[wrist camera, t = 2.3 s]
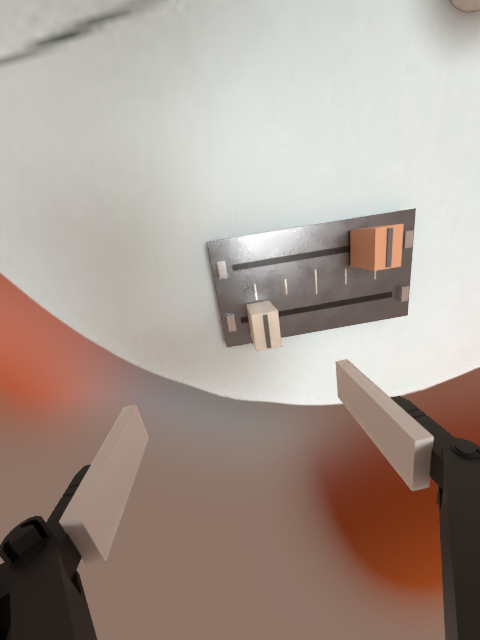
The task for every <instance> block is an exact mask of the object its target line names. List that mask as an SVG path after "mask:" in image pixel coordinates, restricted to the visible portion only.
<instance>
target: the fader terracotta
mask: <svg viewBox="0 0 480 640" xmlns="http://www.w3.org/2000/svg"><path fill="white" fill-rule="evenodd" d="M403 226H404V224H395V225H384V226H374V227H368V228H361V229H355V230H350V266H351V267H356V268H361V269H367V270H372V271H377V270H383V269H389V268H395V267H401V257H402V241H403Z"/></svg>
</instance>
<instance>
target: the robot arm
mask: <svg viewBox="0 0 480 640" xmlns="http://www.w3.org/2000/svg"><path fill="white" fill-rule="evenodd" d="M336 374H337V389H338V397H339V399H340V400H341V401H342V403H343V404H344V405H345V406H346V408H347V409H348V410H349V411H350V413H351V414H352V415H353V416H354V418H355V419H356V420H357V422H358V423H359V424H360V425H361V427H362V428H363V429H364V430H365V432H366V433H367V434H368V436H369V437H370V438H371V439H372V441H373V442H374V443H375V444H376V446H377V447H378V448H379V449H380V451H381V452H382V453H383V455H384V456H385V457H386V458H387V460H388V461H389V462H390V463H391V465H392V466H393V467H394V469H395V470H396V471H397V472H398V474H399V475H400V476H401V477H402V479H403V480H404V481H405V483H406V484H407V485H408V486H409V488H410V489H411V490H412V491H414V490H419V489H423V488H427V487H429V485H430V477H431V478H432V479H433V480H434V481H435V482H436V483H437V484H438V494H437V504H439V522H440V542H441V560H442V582H443V601H444V621H445V640H480V447H479V446H478V445H476V444H474V443H472V442H470V441H468V440H464V439H461V438H454V437H453V436H452V435H451V434H449V433H448V432H447V431H446V430H444V429H443V428H442V427H441V426H440V425H438V424H437V423H436V422H435V421H434V420H432V419H431V418H430V417H428V416H426V414H425V413H424V412H423V411H421V410H419V408H418V407H416V406H415V405H414V404H413V403H411V402H410V401H408V400H406V399H404V398H402V397H400V396H397V397H392V398H390V397H389V396H388V395H387V394H385V393H384V392H383V391H382V390H381V389H380V388H379V387H378V386H376V385H375V384H374V383H373V382H372V381H371V380H370V379H369V378H368V377H366V376H365V375H364V374H363V373H362V372H361V371H360V370H359V369H357V368H356V367H355V366H354V365H353V364H352V363H351V362H350V361H348V360H347V359H346V360H341V361H336ZM148 439H149V437H148V435H147V432H146V430H145V427H144V424H143V422H142V419H141V417H140V414H139V411H138V409H137V407H136V405H131V406H126V407H124V408H123V409H122V411H121V413H120V415H119V417H118V418H117V420H116V422H115V423H114V425H113V427H112V429H111V430H110V432H109V434H108V436H107V437H106V439H105V441H104V443H103V445H102V446H101V448H100V450H99V452H98V453H97V455H96V457H95V459H94V460H93V462H92V464H91V465H86V466H84V467H83V468H82V469H81V470H80V471H79V472H78V473H77V474H76V475H75V476H74V478H73V480H72V482H71V483H70V484H69V486H68V489H66V491H65V493H64V494H63V497H62V498H61V500H60V501H59V503H58V504H57V506H56V507H55V509H54V511H53V512H52V514H51V516H50V517H49V519H48V521H47V522H46V523H45V521H44V520H43V518H42V517H41V516H34V517H31V518H28V519H27V520H25V521H23V522H22V523H20V524H19V525H18V526H16V527H15V528H14V529H13V530H12V531H11V532H10V533H9V534H8V535H7V536H6V537H5V538H4V540H3V542H2V543H1V545H0V557H1V558H2V559H3V561H4V563H2V564H0V640H97V637H96V633H95V630H94V626H93V622H92V619H91V615H90V612H89V608H88V604H87V601H86V597H85V594H84V590H83V586H82V583H81V579H80V575H79V574H78V572H77V570H76V569H77V567H78V564H79V562H80V560H81V558H82V559H83V561H84V563H85V564H86V566H92V565H96V564H100V563H105V562H106V559H107V557H108V554H109V551H110V548H111V545H112V543H113V540H114V537H115V534H116V531H117V528H118V525H119V522H120V520H121V516H122V514H123V511H124V508H125V505H126V502H127V499H128V496H129V494H130V491H131V488H132V485H133V482H134V479H135V477H136V474H137V471H138V468H139V465H140V462H141V459H142V456H143V454H144V451H145V448H146V445H147V442H148Z"/></svg>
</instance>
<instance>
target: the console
mask: <svg viewBox="0 0 480 640" xmlns="http://www.w3.org/2000/svg"><path fill="white" fill-rule="evenodd" d="M415 211H416V208H415V209H409V210H403V211H397V212H391V213H384V214H378V215H372V216H366V217H359V218H353V219H347V220H341V221H334V222H328V223H322V224H316V225H309V226H303V227H297V228H291V229H285V230H278V231H272V232H266V233H260V234H253V235H247V236H241V237H235V238H228V239H222V240H216V241H210V242H207V244H208V249H209V255H210V260H211V265H212V271H213V276H214V281H215V287H216V292H217V298H218V303H219V308H220V314H221V319H222V324H223V330H224V335H225V340H226V346H227V347H232V346H237V345H243V344H249V343H253V340H252V337H251V334H250V327H249V320H248V313H247V307H246V304H250V303H255V302H261V301H267V300H269V301H270V302H271V303H272V304H273V306H274V307H275V308H276V309H277V310H278V316H279V326H280V335H281V338H282V337H288V336H294V335H299V334H305V333H311V332H316V331H322V330H327V329H333V328H339V327H344V326H350V325H356V324H361V323H367V322H373V321H378V320H384V319H390V318H395V317H401V316H406V315H408V302H409V289H410V276H411V263H412V250H413V237H414V224H415ZM395 224H404V226H403V241H402V257H401V267H395V268H389V269H383V270H377V271H372V270H367V269H361V268H356V267H351V266H350V230H355V229H361V228H368V227H374V226H384V225H395Z"/></svg>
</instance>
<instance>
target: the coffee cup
mask: <svg viewBox="0 0 480 640" xmlns="http://www.w3.org/2000/svg"><path fill="white" fill-rule="evenodd" d="M450 1H451V2H452V4H453V5H454V6H455V7H456V8H458V9H460V10H462V11H466V12H472V11H476V10H479V9H480V0H450Z"/></svg>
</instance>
